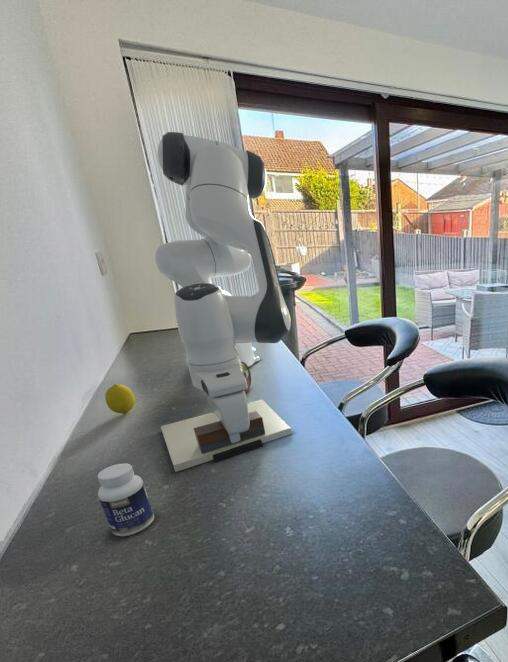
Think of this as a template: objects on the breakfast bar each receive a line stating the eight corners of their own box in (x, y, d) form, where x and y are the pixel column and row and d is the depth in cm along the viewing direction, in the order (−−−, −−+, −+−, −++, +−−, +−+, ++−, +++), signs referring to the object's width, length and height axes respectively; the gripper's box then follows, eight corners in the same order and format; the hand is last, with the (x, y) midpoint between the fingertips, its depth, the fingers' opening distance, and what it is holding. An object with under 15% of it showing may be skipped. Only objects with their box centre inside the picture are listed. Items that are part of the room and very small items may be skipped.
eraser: (198, 445, 79) (193, 428, 78) (259, 427, 86) (256, 410, 84) (201, 454, 76) (196, 435, 75) (265, 434, 83) (262, 417, 82)
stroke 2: (229, 449, 78) (230, 451, 78) (244, 443, 80) (246, 445, 79) (230, 454, 79) (231, 456, 78) (246, 449, 80) (247, 451, 80)
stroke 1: (212, 454, 77) (213, 457, 76) (229, 449, 78) (230, 451, 77) (213, 460, 77) (214, 462, 76) (230, 454, 79) (231, 456, 78)
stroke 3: (245, 444, 80) (246, 446, 79) (260, 439, 82) (261, 441, 81) (246, 449, 80) (247, 451, 80) (261, 444, 82) (262, 446, 81)
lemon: (144, 409, 100) (134, 379, 97) (126, 419, 95) (116, 388, 92) (124, 409, 100) (114, 379, 97) (105, 419, 95) (94, 388, 92)
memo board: (162, 432, 88) (160, 426, 88) (263, 404, 101) (262, 399, 100) (175, 472, 73) (173, 465, 73) (291, 434, 86) (290, 427, 85)
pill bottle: (119, 543, 57) (97, 487, 53) (107, 527, 60) (85, 473, 57) (161, 521, 61) (142, 468, 57) (147, 508, 64) (129, 456, 61)
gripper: (188, 362, 82) (204, 422, 87) (210, 392, 66) (227, 462, 72) (222, 355, 85) (235, 413, 90) (249, 383, 70) (263, 450, 75)
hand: (231, 435), depth 81 cm, fingers closed on eraser, 4 cm apart
